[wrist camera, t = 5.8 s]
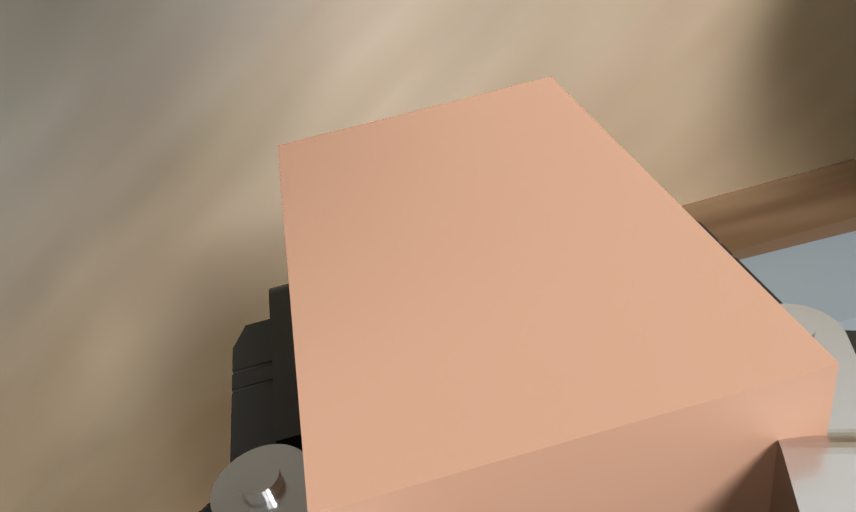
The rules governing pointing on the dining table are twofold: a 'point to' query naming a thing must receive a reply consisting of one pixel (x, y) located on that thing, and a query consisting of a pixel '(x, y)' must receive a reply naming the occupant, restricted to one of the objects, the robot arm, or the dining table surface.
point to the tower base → (782, 211)
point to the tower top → (813, 276)
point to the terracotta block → (527, 323)
